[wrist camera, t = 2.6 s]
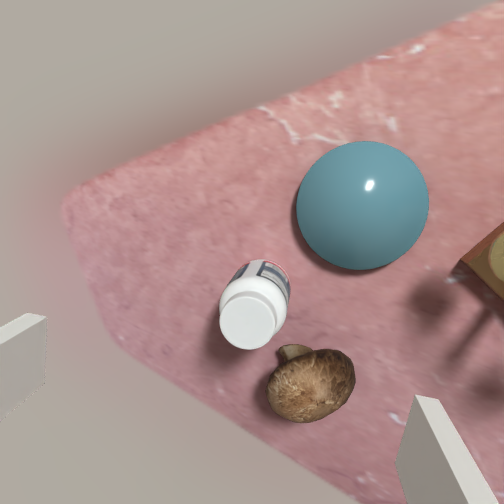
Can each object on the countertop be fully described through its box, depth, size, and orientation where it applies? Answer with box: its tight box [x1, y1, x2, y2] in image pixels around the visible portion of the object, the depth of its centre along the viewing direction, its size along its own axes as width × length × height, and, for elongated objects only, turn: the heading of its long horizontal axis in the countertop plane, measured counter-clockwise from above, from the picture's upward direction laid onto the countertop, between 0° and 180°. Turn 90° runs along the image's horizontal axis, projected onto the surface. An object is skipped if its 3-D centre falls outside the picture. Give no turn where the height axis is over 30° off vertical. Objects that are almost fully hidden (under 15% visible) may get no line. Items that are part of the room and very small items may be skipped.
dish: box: [296, 141, 429, 270], centre depth 32 cm, size 10×10×1 cm
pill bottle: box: [219, 259, 291, 350], centre depth 31 cm, size 5×5×9 cm
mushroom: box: [266, 344, 356, 423], centre depth 34 cm, size 8×8×6 cm
